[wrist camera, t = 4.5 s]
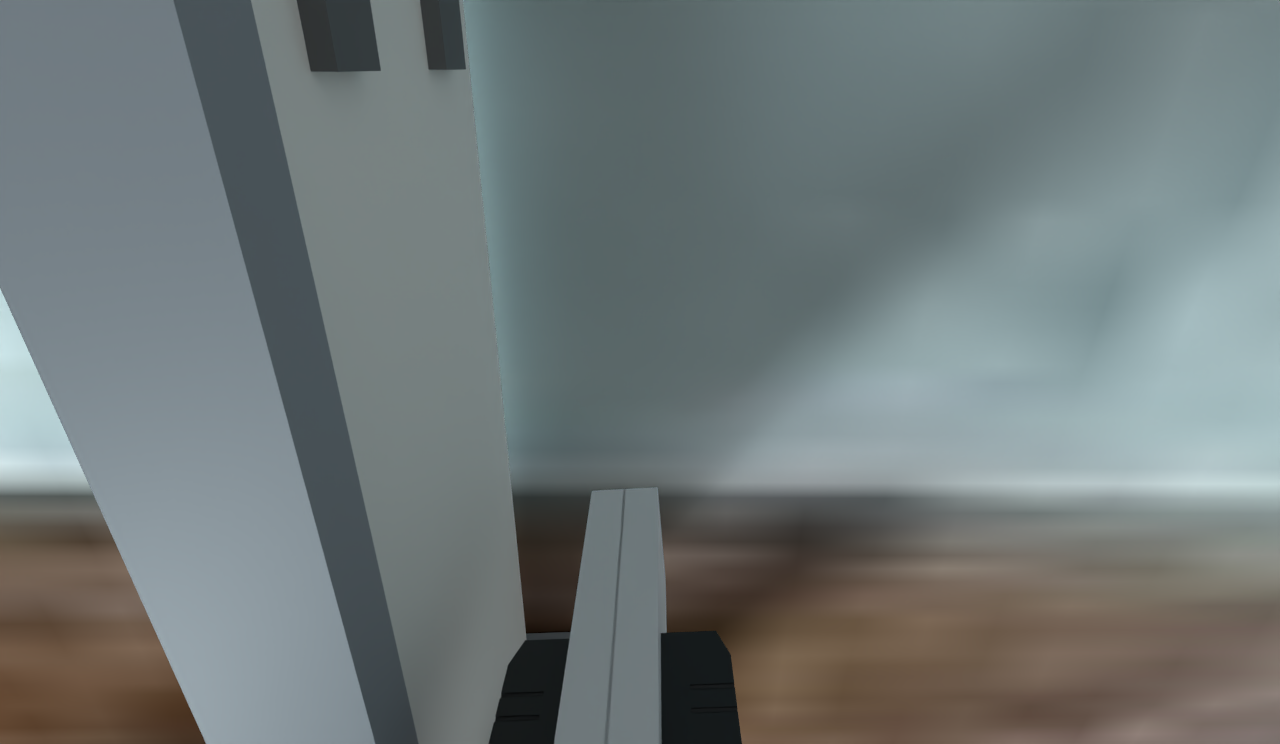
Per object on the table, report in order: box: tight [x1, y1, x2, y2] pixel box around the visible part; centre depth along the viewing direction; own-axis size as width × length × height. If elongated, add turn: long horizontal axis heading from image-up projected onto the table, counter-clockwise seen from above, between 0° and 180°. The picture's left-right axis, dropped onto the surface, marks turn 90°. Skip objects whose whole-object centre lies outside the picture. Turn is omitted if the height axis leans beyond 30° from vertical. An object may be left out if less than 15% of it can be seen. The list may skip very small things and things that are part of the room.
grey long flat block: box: [0, 0, 527, 744], centre depth 12 cm, size 23×3×9 cm, turn 0°
